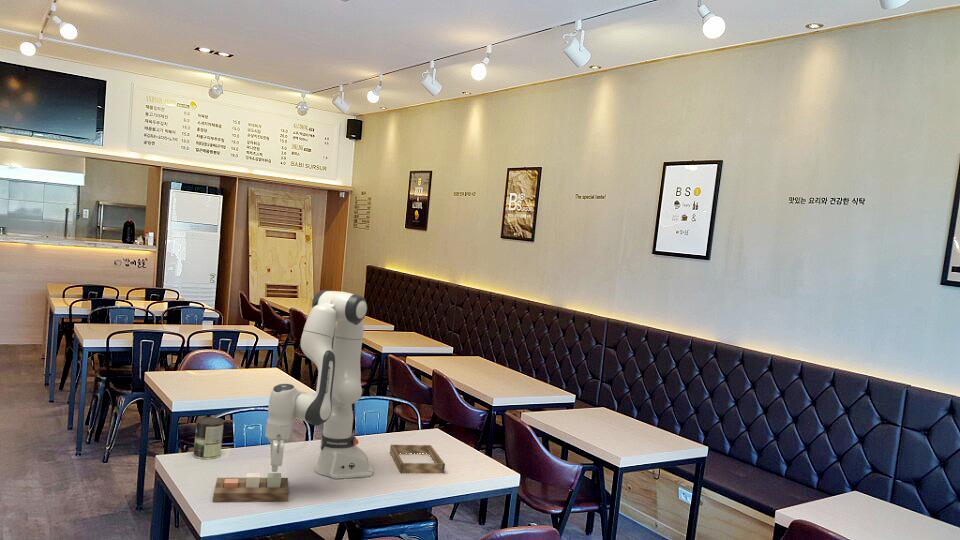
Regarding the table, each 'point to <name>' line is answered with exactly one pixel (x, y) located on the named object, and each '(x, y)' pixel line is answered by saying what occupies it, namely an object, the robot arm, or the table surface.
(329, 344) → the robot arm
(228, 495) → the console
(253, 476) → the cream cube
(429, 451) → the frame
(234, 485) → the key terracotta
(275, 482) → the key sage
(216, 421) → the coffee can
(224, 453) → the table surface
